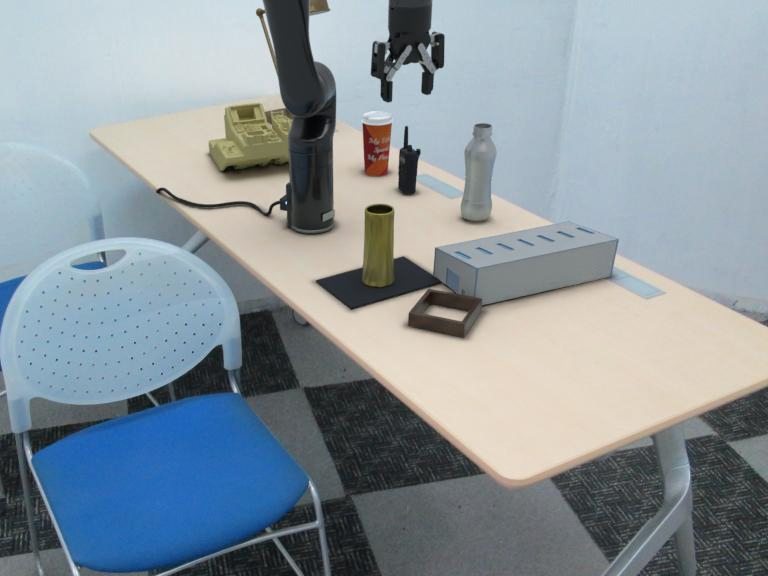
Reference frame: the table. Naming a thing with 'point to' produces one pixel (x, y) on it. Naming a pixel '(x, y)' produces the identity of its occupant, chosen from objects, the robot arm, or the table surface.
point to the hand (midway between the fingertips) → (406, 97)
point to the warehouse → (525, 261)
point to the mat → (359, 294)
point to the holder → (444, 324)
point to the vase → (378, 246)
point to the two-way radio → (408, 166)
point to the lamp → (316, 7)
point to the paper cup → (376, 142)
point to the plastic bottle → (478, 174)
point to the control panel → (251, 138)
